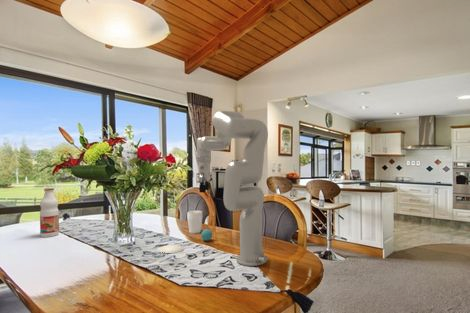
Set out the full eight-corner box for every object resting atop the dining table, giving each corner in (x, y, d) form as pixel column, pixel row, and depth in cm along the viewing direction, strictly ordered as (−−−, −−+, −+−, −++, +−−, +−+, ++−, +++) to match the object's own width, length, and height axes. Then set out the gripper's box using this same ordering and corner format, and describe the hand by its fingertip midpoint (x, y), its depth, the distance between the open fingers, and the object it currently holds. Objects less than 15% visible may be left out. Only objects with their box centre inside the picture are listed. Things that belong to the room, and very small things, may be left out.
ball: (214, 240, 152) (214, 229, 152) (205, 242, 148) (205, 231, 148) (208, 238, 156) (208, 227, 156) (199, 240, 152) (198, 229, 152)
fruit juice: (62, 234, 172) (61, 187, 172) (46, 238, 163) (45, 189, 163) (53, 232, 176) (52, 187, 176) (36, 236, 168) (36, 188, 168)
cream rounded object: (189, 249, 138) (189, 249, 138) (164, 255, 129) (164, 255, 129) (176, 243, 148) (176, 243, 148) (152, 249, 139) (152, 248, 139)
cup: (195, 234, 164) (194, 213, 164) (184, 232, 170) (183, 212, 170) (205, 231, 171) (205, 211, 172) (195, 229, 177) (194, 209, 177)
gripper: (207, 160, 148) (208, 193, 148) (213, 159, 165) (213, 189, 165) (193, 160, 149) (194, 193, 149) (200, 159, 166) (201, 189, 166)
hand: (204, 191), depth 157 cm, fingers open, 9 cm apart
